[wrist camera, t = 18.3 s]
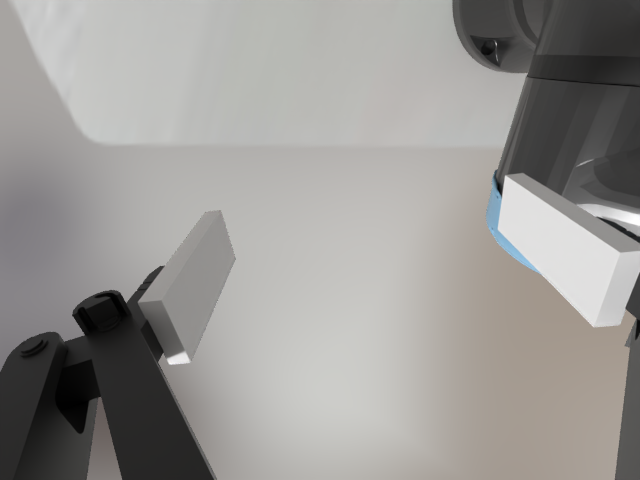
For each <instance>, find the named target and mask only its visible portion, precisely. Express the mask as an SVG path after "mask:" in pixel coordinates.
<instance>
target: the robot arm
mask: <svg viewBox="0 0 640 480" xmlns="http://www.w3.org/2000/svg"><path fill="white" fill-rule="evenodd" d="M453 17H454V23H455V27H456V31H457V34H458V36H459V39H460V41H461V43H462V45H463V46H464V48H465V49H466V51H467V52H468V53H469V55H470V56H471V57H472V58H473V59H475V60H476V61H477V62H478V63H480V64H481V65H483V66H485V67H487V68H489V69H492V70H495V71H500V72H508V73H528V75H527V77H526V79H525V83H524V86H523V89H522V92H521V95H520V99H519V102H518V105H517V108H516V112H515V115H514V118H513V121H512V125H511V128H510V131H509V134H508V138H507V141H506V144H505V147H504V150H503V154H502V157H501V160H500V163H499V167H498V169H497V170H496V171H495V172H494V175H493V178H492V191H491V195H490V199H489V204H488V207H487V212H486V221H487V225H488V228H489V229H490V231H491V233H492V234H493V236H494V237H495V239H496V241H497V242H498V244H499V245H500V246H501V247H502V248H503V249H504V250H506V252H508V253H509V254H510V255H511V256H513V257H514V258H515V259H516V260H518V261H519V262H521V263H522V264H524V265H525V266H527V267H529V268H530V269H532V270H534V271H536V272H538V273H540V274H541V275H543V276H544V277H545V278H546V279H547V280H548V281H549V282H550V283H551V284H552V285H553V286H554V287H555V288H556V289H557V290H558V291H559V292H560V293H561V294H562V295H563V296H564V297H565V298H566V299H567V300H568V301H569V303H571V305H572V306H573V307H574V308H575V309H576V310H577V311H578V312H579V313H580V314H581V315H582V316H583V317H584V318H585V319H586V320H587V321H588V322H589V323H590V324H591V325H592V326H593V327H603V326H615V325H620V323H621V321H622V318H623V316H624V313H625V311H626V310H628V311H629V312H630V313H631V314H632V315H634V316H635V317H636V321H635V323H634V326H633V328H632V330H631V332H630V335H629V337H628V339H627V341H626V344H625V346H627V347H630V353H629V362H628V371H627V380H626V388H625V396H624V405H623V414H622V423H621V431H620V440H619V448H618V457H617V466H616V474H615V480H640V0H453ZM235 259H236V258H235V255H234V252H233V248H232V245H231V242H230V239H229V235H228V232H227V229H226V225H225V222H224V219H223V216H222V212H221V210H219V211H210V212H205V213H204V215H203V216H202V217H201V218H200V220H199V221H198V223H197V224H196V225H195V227H194V228H193V229H192V230H191V232H190V233H189V235H188V236H187V237H186V239H185V240H184V241H183V243H182V244H181V245H180V247H179V248H178V249H177V251H176V252H175V253H174V255H173V256H172V257H171V259H170V260H169V261H168V263H167V264H166V265H165V266H160V267H158V268H157V269H156V270H154V271H153V272H152V273H150V274H149V275H148V277H147V278H146V279H145V280H144V282H143V284H141V285H140V287H139V288H138V289H137V291H136V292H135V293H134V294H133V296H132V297H131V298H130V299H129V301H128V302H127V303H126V302H125V301H124V299H123V297H122V295H121V293H120V292H118V291H115V290H109V291H103V292H100V293H97V294H95V295H93V296H91V297H89V298H87V299H85V300H84V301H82V302H81V303H80V304H79V305H77V307H76V308H75V309H74V310H73V314H72V316H73V317H74V319H75V320H76V322H77V323H78V325H79V326H80V328H81V329H82V331H83V332H84V334H85V336H81V337H78V338H75V339H72V340H68V341H65V342H64V341H63V339H62V338H61V336H60V335H59V334H58V333H56V332H46V333H43V334H39V335H37V336H34V337H31V338H29V339H27V340H26V341H24V342H22V343H21V344H20V345H19V346H18V347H16V348H15V349H14V350H13V351H12V352H11V354H10V355H9V356H8V358H7V359H6V362H5V364H4V366H3V368H2V370H1V372H0V480H86V479H87V473H88V465H89V458H90V451H91V445H92V437H93V430H94V424H95V417H96V410H97V402H98V397H101V398H102V402H103V405H104V409H105V413H106V417H107V421H108V425H109V429H110V433H111V437H112V440H113V445H114V449H115V452H116V456H117V460H118V464H119V468H120V472H121V476H122V480H217V478H216V476H215V474H214V472H213V470H212V468H211V466H210V464H209V462H208V460H207V458H206V456H205V454H204V452H203V450H202V448H201V446H200V444H199V442H198V440H197V438H196V436H195V434H194V432H193V431H192V428H191V427H190V425H189V423H188V421H187V419H186V417H185V415H184V413H183V411H182V409H181V407H180V405H179V403H178V401H177V399H176V397H175V395H174V393H173V391H172V389H171V387H170V385H169V383H168V381H167V379H166V377H165V375H164V373H163V371H162V369H161V367H160V365H159V364H158V361H159V359H160V358H161V356H162V354H163V353H164V355H165V357H166V359H167V361H168V363H169V364H182V363H191V361H192V358H193V356H194V354H195V352H196V349H197V347H198V345H199V342H200V340H201V338H202V336H203V333H204V331H205V329H206V326H207V324H208V322H209V319H210V317H211V315H212V312H213V310H214V308H215V305H216V303H217V301H218V298H219V296H220V294H221V291H222V289H223V287H224V285H225V282H226V280H227V277H228V275H229V273H230V270H231V268H232V266H233V264H234V261H235Z"/></svg>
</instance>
